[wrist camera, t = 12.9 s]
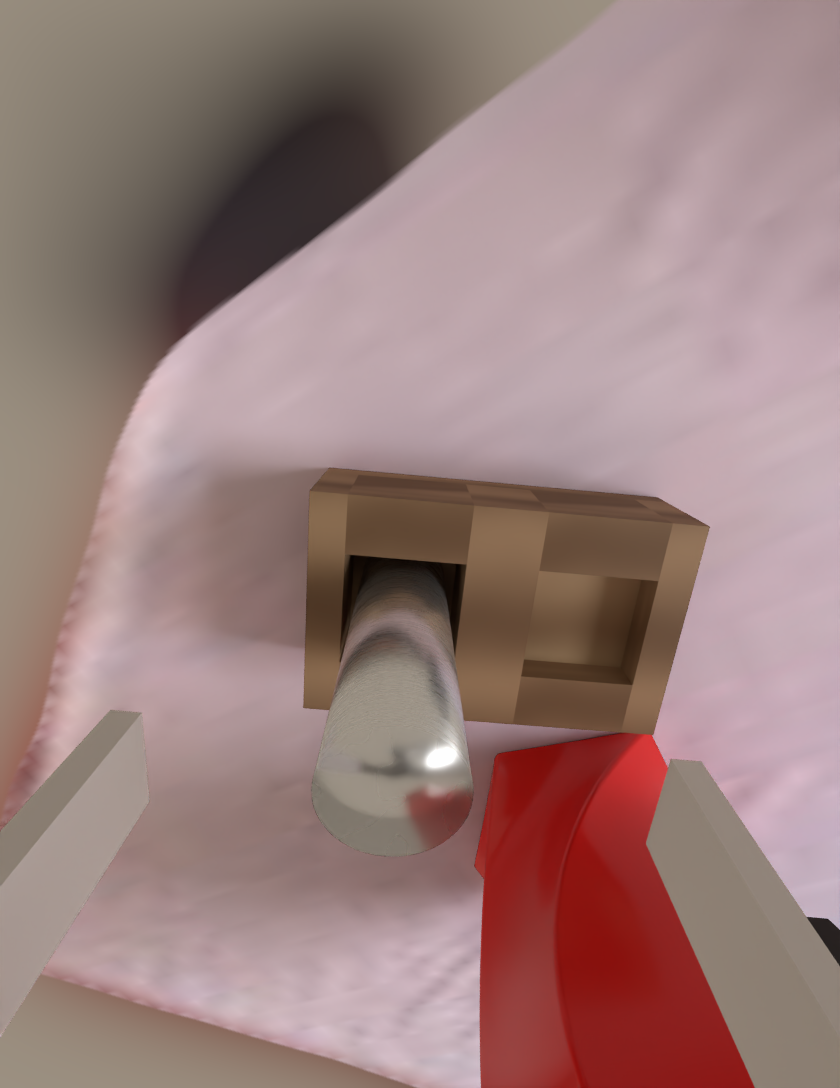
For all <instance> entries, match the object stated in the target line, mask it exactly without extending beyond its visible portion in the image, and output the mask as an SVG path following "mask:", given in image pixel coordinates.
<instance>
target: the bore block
mask: <svg viewBox="0 0 840 1088" xmlns="http://www.w3.org/2000/svg"><path fill="white" fill-rule="evenodd" d="M709 528H710V527H709V526H708V525H706V524H704V523H702V522H701V521H699V520H697V519H695V518H693V517H692V516H690V515H688V514H686V513H684V512H683V511H681V510H679V509H677V508H675V507H674V506H672V505H670V504H668V503H666V502H665V501H663V500H661V499H659V498H657V497H646V496H635V495H624V494H613V493H602V492H591V491H580V490H569V489H558V488H547V487H536V486H525V485H514V484H503V483H492V482H481V481H470V480H459V479H448V478H437V477H426V476H415V475H404V474H393V473H382V472H371V471H360V470H349V469H338V468H329V469H328V470H327V471H326V473H325V474H324V475H323V476H322V477H321V478H320V479H319V481H318V482H317V483H316V484H315V485H314V486H313V488H312V489H311V490H310V493H309V528H308V564H307V599H306V634H305V669H304V705H303V708H310V709H323V710H330V706H331V702H332V697H333V693H334V689H335V685H336V681H337V677H338V672H339V668H340V664H341V660H342V656H343V652H344V648H345V643H346V639H347V635H348V631H349V627H350V623H351V618H352V614H353V610H354V606H355V602H356V598H357V593H358V589H359V585H360V581H361V577H362V573H363V569H364V566H365V563H366V561H367V560H368V558H369V557H370V556H372V557H383V558H395V559H406V560H418V561H430V562H440V564H441V567H442V571H443V576H444V583H445V591H446V598H447V605H448V612H449V619H450V626H451V633H452V640H453V647H454V654H455V662H456V669H457V676H458V683H459V690H460V697H461V704H462V711H463V718H464V720H465V721H478V722H491V723H504V724H517V725H530V726H543V727H556V728H569V729H582V730H595V731H608V732H621V733H634V734H647V735H653V734H654V730H655V726H656V723H657V719H658V715H659V712H660V708H661V704H662V701H663V697H664V693H665V690H666V686H667V682H668V678H669V675H670V671H671V667H672V664H673V660H674V656H675V653H676V649H677V645H678V642H679V638H680V634H681V631H682V627H683V623H684V620H685V616H686V612H687V609H688V605H689V601H690V598H691V594H692V590H693V587H694V583H695V579H696V576H697V572H698V568H699V565H700V561H701V557H702V554H703V550H704V546H705V542H706V539H707V535H708V531H709Z"/></svg>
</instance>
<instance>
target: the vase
mask: <svg viewBox="0 0 840 1088" xmlns="http://www.w3.org/2000/svg"><path fill="white" fill-rule="evenodd" d="M667 770H668V767H667V765H666V763H665V761H664V759H663V757H662V755H661V753H660V751H659V749H658V747H657V745H656V743H655V741H654V739H653V737H652V735H647V734H634V733H619V734H614V735H608V736H602V737H596V738H591V739H585V740H579V741H573V742H567V743H561V744H555V745H549V746H543V747H536V748H530V749H524V750H517V751H511V752H505V753H499V754H498V755H497V756H496V757H495V760H494V766H493V772H492V777H491V783H490V789H489V794H488V800H487V805H486V810H485V815H484V821H483V826H482V831H481V836H480V841H479V846H478V850H477V855H476V860H475V865H474V866H475V868H476V869H477V871H478V872H479V873H480V875H481V876H482V877H483V879H484V889H483V907H482V928H481V958H480V1071H481V1088H755V1087H754V1084H753V1082H752V1080H751V1078H750V1075H749V1073H748V1071H747V1069H746V1067H745V1064H744V1062H743V1060H742V1058H741V1055H740V1053H739V1051H738V1049H737V1046H736V1044H735V1042H734V1040H733V1037H732V1035H731V1033H730V1031H729V1028H728V1026H727V1024H726V1022H725V1020H724V1017H723V1015H722V1013H721V1011H720V1008H719V1006H718V1004H717V1002H716V999H715V997H714V995H713V993H712V990H711V988H710V986H709V984H708V982H707V979H706V977H705V975H704V973H703V970H702V968H701V966H700V964H699V961H698V959H697V957H696V955H695V952H694V950H693V948H692V946H691V944H690V941H689V939H688V937H687V935H686V932H685V930H684V928H683V926H682V923H681V921H680V919H679V917H678V914H677V912H676V910H675V908H674V905H673V903H672V901H671V899H670V897H669V894H668V892H667V890H666V888H665V885H664V883H663V881H662V879H661V876H660V874H659V872H658V870H657V867H656V865H655V863H654V861H653V859H652V856H651V854H650V852H649V850H648V847H647V845H646V841H647V838H648V834H649V831H650V828H651V824H652V821H653V818H654V814H655V811H656V807H657V804H658V801H659V797H660V794H661V791H662V787H663V784H664V780H665V777H666V774H667Z"/></svg>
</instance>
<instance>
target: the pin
mask: <svg viewBox="0 0 840 1088" xmlns="http://www.w3.org/2000/svg"><path fill="white" fill-rule="evenodd" d="M311 791H312V801H313V806H314V809H315V811H316V814H317V816H318V818H319V820H320V821H321V823H322V824H323V825H324V827H325V828H326V829H327V830H328V831H329V832H330V833H331V834H332V835H333V836H334V837H335V838H337V839H338V840H339V841H341V842H343V843H344V844H346V845H348V846H350V847H352V848H354V849H356V850H359V851H362V852H365V853H368V854H373V855H379V856H407V855H413V854H417V853H421V852H424V851H427V850H429V849H432V848H434V847H436V846H438V845H440V844H441V843H443V842H445V841H446V840H447V839H449V838H450V837H451V836H452V835H453V834H454V833H456V832H457V831H458V829H459V828H460V827H461V826H462V824H463V823H464V821H465V820H466V818H467V816H468V814H469V812H470V809H471V806H472V801H473V782H472V775H471V768H470V761H469V754H468V747H467V740H466V732H465V725H464V718H463V711H462V704H461V697H460V690H459V683H458V676H457V669H456V662H455V654H454V647H453V640H452V633H451V626H450V619H449V612H448V605H447V598H446V591H445V583H444V576H443V571H442V567H441V564H440V562H430V561H418V560H406V559H395V558H383V557H372V556H370V557H369V558H368V560H367V561H366V563H365V566H364V569H363V573H362V577H361V581H360V585H359V589H358V593H357V598H356V602H355V606H354V610H353V614H352V618H351V623H350V627H349V631H348V635H347V639H346V643H345V648H344V652H343V656H342V660H341V664H340V668H339V672H338V677H337V681H336V685H335V689H334V693H333V697H332V702H331V706H330V710H329V714H328V718H327V722H326V727H325V731H324V735H323V739H322V743H321V747H320V752H319V756H318V760H317V764H316V768H315V772H314V777H313V781H312V789H311Z"/></svg>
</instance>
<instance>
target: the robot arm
mask: <svg viewBox="0 0 840 1088" xmlns="http://www.w3.org/2000/svg"><path fill="white" fill-rule="evenodd" d="M149 802H150V799H149V788H148V777H147V765H146V754H145V743H144V732H143V720H142V713H139V712H128V711H116V710H110V711H109V712H108V713H107V714H106V716H105V717H104V718H103V719H102V720H101V721H100V722H99V723H98V724H97V725H96V727H95V728H94V729H93V730H92V731H91V732H90V733H89V734H88V735H87V736H86V738H85V739H84V740H83V741H82V742H81V743H80V744H79V745H78V746H77V747H76V749H75V750H74V751H73V752H72V753H71V754H70V755H69V756H68V757H67V758H66V760H65V761H64V762H63V763H62V764H61V765H60V766H59V767H58V768H57V769H56V770H55V772H54V773H53V774H52V775H51V776H50V777H49V778H48V779H47V780H46V781H45V783H44V784H43V785H42V786H41V787H40V788H39V789H38V790H37V791H36V792H35V794H34V795H33V796H32V797H31V798H30V799H29V800H28V801H27V802H26V803H25V805H24V806H23V807H22V808H21V809H20V810H19V811H18V812H17V813H16V814H15V816H14V817H13V818H12V819H11V820H10V821H9V822H8V823H7V824H6V825H5V827H4V828H3V829H2V830H1V831H0V1037H1V1035H2V1034H3V1032H4V1031H5V1029H6V1027H7V1026H8V1024H9V1023H10V1021H11V1020H12V1018H13V1017H14V1015H15V1013H16V1012H17V1010H18V1009H19V1007H20V1005H21V1004H22V1002H23V1001H24V999H25V998H26V996H27V994H28V993H29V991H30V990H31V988H32V986H33V985H34V983H35V982H36V980H37V979H38V977H39V975H40V974H41V972H42V971H43V969H44V968H45V966H46V964H47V963H48V961H49V960H50V958H51V956H52V955H53V953H54V952H55V950H56V949H57V947H58V945H59V944H60V942H61V941H62V939H63V938H64V936H65V934H66V933H67V931H68V930H69V928H70V926H71V925H72V923H73V922H74V920H75V919H76V917H77V915H78V914H79V912H80V911H81V909H82V907H83V906H84V904H85V903H86V901H87V900H88V898H89V896H90V895H91V893H92V892H93V890H94V889H95V887H96V885H97V884H98V882H99V881H100V879H101V877H102V876H103V874H104V873H105V871H106V870H107V868H108V866H109V865H110V863H111V862H112V860H113V858H114V857H115V855H116V854H117V852H118V851H119V849H120V847H121V846H122V844H123V843H124V841H125V840H126V838H127V836H128V835H129V833H130V832H131V830H132V828H133V827H134V825H135V824H136V822H137V821H138V819H139V817H140V816H141V814H142V813H143V811H144V810H145V808H146V806H147V805H148V803H149ZM646 845H647V847H648V850H649V852H650V854H651V856H652V859H653V861H654V863H655V865H656V867H657V870H658V872H659V874H660V876H661V879H662V881H663V883H664V885H665V888H666V890H667V892H668V894H669V897H670V899H671V901H672V903H673V905H674V908H675V910H676V912H677V914H678V917H679V919H680V921H681V923H682V926H683V928H684V930H685V932H686V935H687V937H688V939H689V941H690V944H691V946H692V948H693V950H694V952H695V955H696V957H697V959H698V961H699V964H700V966H701V968H702V970H703V973H704V975H705V977H706V979H707V982H708V984H709V986H710V988H711V990H712V993H713V995H714V997H715V999H716V1002H717V1004H718V1006H719V1008H720V1011H721V1013H722V1015H723V1017H724V1020H725V1022H726V1024H727V1026H728V1028H729V1031H730V1033H731V1035H732V1037H733V1040H734V1042H735V1044H736V1046H737V1049H738V1051H739V1053H740V1055H741V1058H742V1060H743V1062H744V1064H745V1067H746V1069H747V1071H748V1073H749V1075H750V1078H751V1080H752V1082H753V1084H754V1087H755V1088H840V930H839V929H838V928H837V927H836V926H835V925H834V924H833V923H832V922H831V921H830V920H828V919H824V918H812V917H806V916H805V914H804V913H803V911H802V910H801V908H800V907H799V905H798V904H797V902H796V901H795V899H794V898H793V896H792V895H791V894H790V892H789V891H788V889H787V888H786V886H785V885H784V883H783V882H782V880H781V879H780V877H779V876H778V874H777V873H776V871H775V870H774V868H773V867H772V865H771V864H770V862H769V861H768V859H767V858H766V857H765V855H764V854H763V852H762V851H761V849H760V848H759V846H758V845H757V843H756V842H755V840H754V839H753V837H752V836H751V834H750V833H749V831H748V830H747V828H746V827H745V825H744V824H743V823H742V821H741V820H740V818H739V817H738V815H737V814H736V812H735V811H734V809H733V808H732V806H731V805H730V803H729V802H728V800H727V799H726V797H725V796H724V794H723V793H722V791H721V790H720V789H719V787H718V786H717V784H716V783H715V781H714V780H713V778H712V777H711V775H710V774H709V772H708V771H707V769H706V768H705V766H704V765H703V763H702V762H700V761H689V760H677V759H671V760H670V764H669V767H668V770H667V774H666V777H665V780H664V784H663V787H662V791H661V794H660V797H659V801H658V804H657V807H656V811H655V814H654V818H653V821H652V824H651V828H650V831H649V834H648V838H647V841H646Z"/></svg>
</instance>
